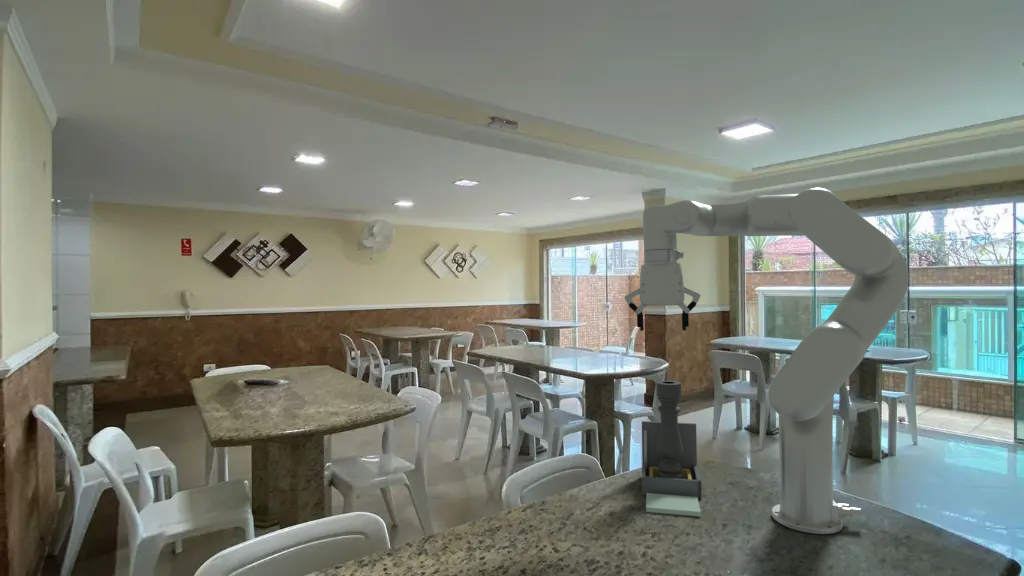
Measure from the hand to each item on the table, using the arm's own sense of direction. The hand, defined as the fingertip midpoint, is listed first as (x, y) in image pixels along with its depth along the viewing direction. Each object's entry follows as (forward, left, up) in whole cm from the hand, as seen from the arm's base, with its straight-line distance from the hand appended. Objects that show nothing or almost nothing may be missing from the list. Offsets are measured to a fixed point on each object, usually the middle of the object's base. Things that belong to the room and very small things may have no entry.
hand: (662, 330), depth 126 cm
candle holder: (-1, -1, -38) cm, 38 cm away
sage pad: (-1, +10, -38) cm, 39 cm away
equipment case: (-1, -1, -38) cm, 38 cm away
